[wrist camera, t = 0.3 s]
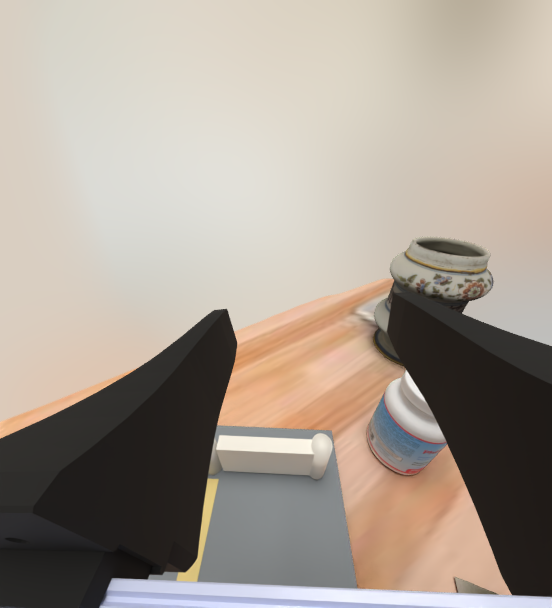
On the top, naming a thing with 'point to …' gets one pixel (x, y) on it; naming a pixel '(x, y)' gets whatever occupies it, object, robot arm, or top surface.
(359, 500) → the top surface
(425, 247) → the apothecary jar
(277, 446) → the fence panel
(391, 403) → the pill bottle
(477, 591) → the condiment
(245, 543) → the board
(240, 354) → the top surface
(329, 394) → the top surface
